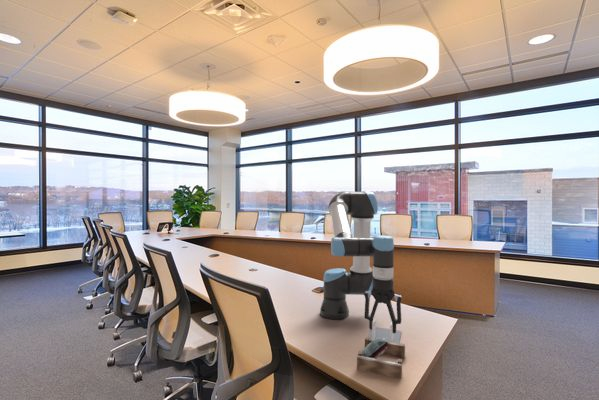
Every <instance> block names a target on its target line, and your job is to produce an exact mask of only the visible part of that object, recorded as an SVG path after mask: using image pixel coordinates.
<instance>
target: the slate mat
mask: <svg viewBox="0 0 599 400" xmlns="http://www.w3.org/2000/svg"><path fill="white" fill-rule="evenodd" d="M401 335H402V330H398V329H396V333H393V342H392V343H397V344H400V341H401V337H402V336H401ZM367 337H368V338H369V339H372V329H370V331H369V333H368V336H367ZM377 338H387V339H386V342H390V328H383V327H379V326H375V339H377Z"/></svg>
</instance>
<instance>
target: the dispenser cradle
mask: <svg viewBox="0 0 599 400" xmlns="http://www.w3.org/2000/svg"><path fill="white" fill-rule="evenodd" d="M374 340H375V339H374ZM372 341H373V339H369V338H368V336H365V337H364V348H365V347H366V346H367V345H368V344H369V343H371V342H372ZM389 343H390V342H389ZM382 354H386V355H387V354H388V355H393V356H397V357H400V358H398V359H397V362H393V361H390V360H383V359H378V358H376V359H374V358H369V357H364V356H363V352H362V350H361V351H360V350H359V351H358V353H357V357H356V369H357V370H359V371H364V372H367V373H368V372H369V373H373V374H378V375H381V376H386V377H387V376H388V377H391V378H396V379H402V377H403V360H406V358H405V357H406V344H405V343H399V344H397V343H390V344H388V347H387V349H386V350H385V351H384V352H383V353H382Z"/></svg>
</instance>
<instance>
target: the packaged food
mask: <svg viewBox="0 0 599 400" xmlns="http://www.w3.org/2000/svg"><path fill="white" fill-rule="evenodd" d="M386 339H387V338H377V339H375V340H373V341H372V342H371V343H369V344H368V345H367V346H366V347H365V346H364V348H363V349H362V350H361V351H362V352H363V356H364V357H369V358H374V359H378V358H379V357H380V356H381V355H382V354H384V353H383V352H384V351H385V350H386V349H387V347H388V344H390V343H389V342H386Z"/></svg>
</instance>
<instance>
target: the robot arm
mask: <svg viewBox="0 0 599 400" xmlns="http://www.w3.org/2000/svg"><path fill="white" fill-rule="evenodd" d="M328 203H329V204H328V214H329V215H330V216H331V221H332V228H333V234H334V237H332V238H331V240H330V253H331V255H332V256H333V257H352V266H350V268H349V271H347V270H346V269H345V268H342V267H341V268H340V267H337V268H329V269H328V270H325V272H324V273H323V279H322V281H323V299H322V302H321V306H320V308H319V309H320V310H319V313H320V316H322V317H324V318H326V319H329V320H331V319H332V320H341V319H346V318H348V317H349V316H350V309H349V306H348V303H347V295H351V296H352V295H356V296H357V295H359V296H360V295H361V296H364V298H365V302H364V316H363V317H364V319H365V320H368V322H369V325H368V326H369V327H368V328H369V330H371V329H372V339H373V340H374V339H375V327H376V319H375V314H376V311H377V308H378V306H379V304H382V303H383V304H385V305H386V307H387V310H388V314H389V317H390V320H391V322H390V324H389V326H390V327H389V329H390V343H392V342H393V333H396V330H397V325H401V324H402V306H401V305H402V304H401V303H402V298H403V296H402V295H401V294H396V292H395V291H394V279H393V278H394V272H395V271H394V269H395V268H394V257H395V256H394V255H395V253H394V252H395V251H394V250H395V243H394V238H393V236H391V235H385V234H384V235H375V236H371V226H372V225H371V222H372V220H374V218H375V217H374V216H375V215H377V213H378V211H379V209H378V201H377V196H376V195H375V193H374V192H372V191H341V192H338V193H336V194H335V195H334V196H333V197H332V198H331V200H330V201H329V202H328ZM348 215H350V218H351V219H352V220H353V233H352V228H351V225H350V220H349V216H348ZM371 257H372V267H371V265H370V264H371V263H370V262H371V260H370V258H371ZM371 296H372V297H373V299H374V304H373V307H372V310H371V313H370V303H371V302H370V298H371ZM392 299H394V300H395V301H396V315H395V312H394V308H393V306H392V305H393V304H392ZM396 317H397V318H396Z"/></svg>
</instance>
